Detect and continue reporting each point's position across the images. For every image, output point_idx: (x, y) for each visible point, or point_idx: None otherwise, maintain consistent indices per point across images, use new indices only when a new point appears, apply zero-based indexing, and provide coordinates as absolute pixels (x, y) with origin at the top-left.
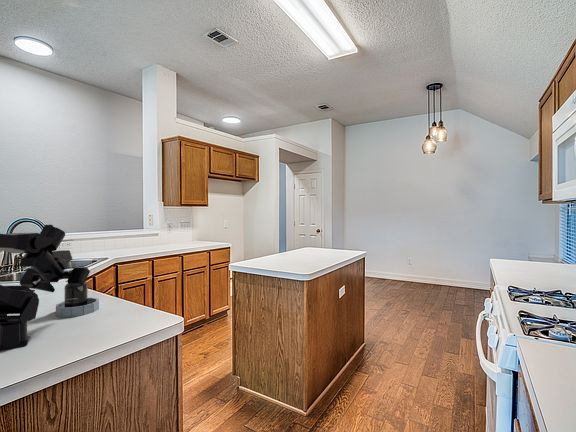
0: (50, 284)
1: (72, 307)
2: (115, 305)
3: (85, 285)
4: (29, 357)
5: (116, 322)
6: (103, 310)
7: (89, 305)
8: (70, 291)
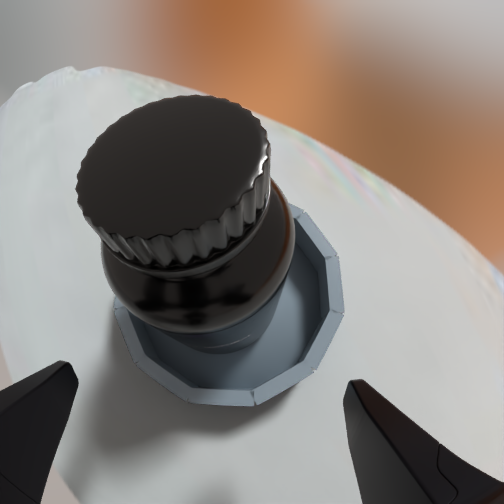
0: (20, 413)
1: (254, 395)
2: (369, 223)
3: (294, 233)
4: None
5: (482, 438)
6: (363, 298)
7: (331, 337)
8: (194, 337)
